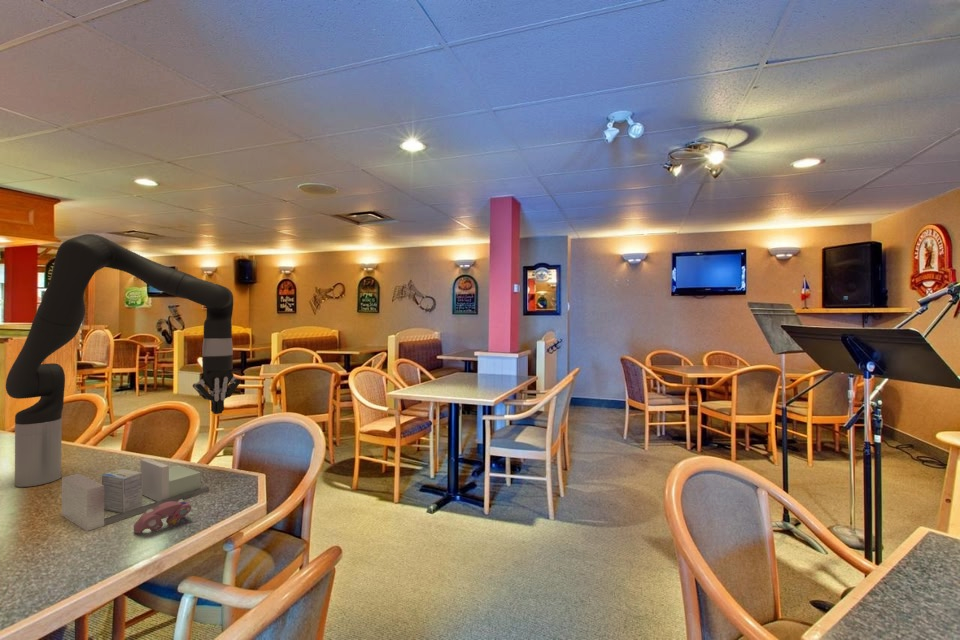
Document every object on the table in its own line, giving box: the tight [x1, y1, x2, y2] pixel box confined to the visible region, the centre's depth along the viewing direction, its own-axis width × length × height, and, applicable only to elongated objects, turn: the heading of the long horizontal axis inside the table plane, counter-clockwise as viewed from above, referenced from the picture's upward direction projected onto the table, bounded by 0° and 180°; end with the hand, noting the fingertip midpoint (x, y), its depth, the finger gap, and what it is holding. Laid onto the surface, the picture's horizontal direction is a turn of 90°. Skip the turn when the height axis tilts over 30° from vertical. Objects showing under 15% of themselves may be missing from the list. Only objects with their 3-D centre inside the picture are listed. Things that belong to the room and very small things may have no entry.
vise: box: [61, 472, 210, 532], centre depth 108 cm, size 15×26×9 cm, turn 150°
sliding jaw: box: [139, 457, 201, 502], centre depth 114 cm, size 12×9×9 cm
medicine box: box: [101, 468, 144, 514], centre depth 105 cm, size 8×4×9 cm, turn 71°
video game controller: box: [133, 499, 192, 534], centre depth 96 cm, size 10×5×7 cm, turn 148°
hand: (217, 413), depth 124 cm, fingers closed
